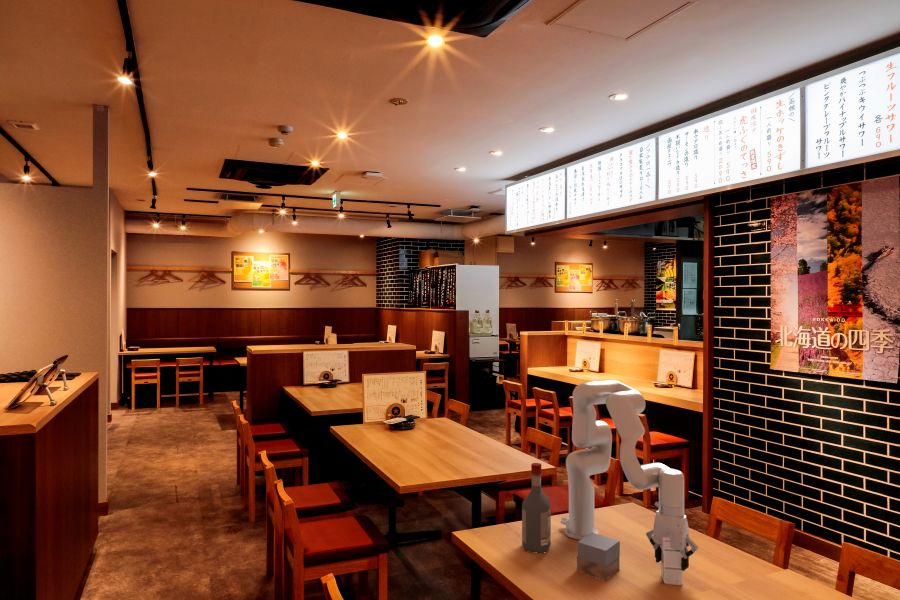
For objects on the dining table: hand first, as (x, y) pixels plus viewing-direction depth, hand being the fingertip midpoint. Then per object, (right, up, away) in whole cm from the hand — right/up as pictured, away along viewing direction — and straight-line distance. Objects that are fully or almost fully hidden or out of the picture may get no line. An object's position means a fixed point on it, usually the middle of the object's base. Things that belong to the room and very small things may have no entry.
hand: (671, 564), depth 184 cm
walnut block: (-22, -5, +7) cm, 23 cm away
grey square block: (-21, 0, +7) cm, 22 cm away
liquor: (-39, -5, +24) cm, 46 cm away
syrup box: (0, -5, 0) cm, 5 cm away
